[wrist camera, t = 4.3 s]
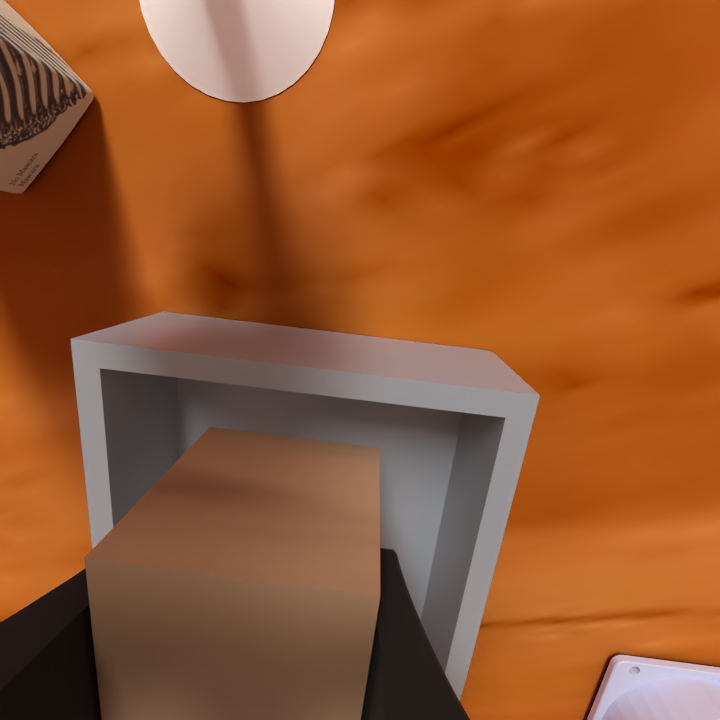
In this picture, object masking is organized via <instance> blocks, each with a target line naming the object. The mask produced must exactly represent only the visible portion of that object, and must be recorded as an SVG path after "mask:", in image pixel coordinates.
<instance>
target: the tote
mask: <svg viewBox="0 0 720 720" xmlns="http://www.w3.org/2000/svg"><path fill="white" fill-rule="evenodd" d="M70 340H71V350H72V359H73V369H74V378H75V388H76V397H77V407H78V416H79V426H80V435H81V445H82V454H83V464H84V473H85V483H86V492H87V502H88V511H89V521H90V530H91V540H92V549H93V548H94V547H95V546H96V545H97V544H98V543H99V542H100V541H101V540H102V539H103V538H104V537H105V536H106V535H107V534H108V533H109V532H110V531H111V530H112V529H113V527H114V526H115V525H116V524H117V523H118V522H119V521H120V520H121V519H122V518H123V517H124V516H125V515H126V514H127V513H128V512H129V511H130V510H131V509H132V508H133V507H134V506H135V504H136V503H137V502H138V501H139V500H140V499H141V498H142V497H143V496H144V495H145V494H146V493H147V492H148V491H149V490H150V489H151V488H152V487H153V486H154V485H155V484H156V483H157V482H158V480H159V479H160V478H161V477H162V476H163V475H164V474H165V473H166V472H167V471H168V470H169V469H170V468H171V467H172V466H173V465H174V464H175V463H176V462H177V461H178V460H179V459H180V457H181V456H182V455H183V454H184V453H185V452H186V451H187V450H188V449H189V448H190V447H191V446H192V445H193V444H194V443H195V442H196V441H197V440H198V439H199V438H200V437H201V436H202V434H203V433H204V432H205V431H206V430H207V429H208V428H209V427H214V428H222V429H231V430H239V431H247V432H255V433H263V434H271V435H279V436H288V437H296V438H304V439H312V440H320V441H328V442H336V443H345V444H353V445H361V446H369V447H377V448H380V548H385V549H393V550H394V551H395V552H396V553H397V556H398V560H399V564H400V567H401V571H402V574H403V577H404V580H405V583H406V586H407V588H408V591H409V594H410V597H411V599H412V602H413V604H414V607H415V609H416V612H417V614H418V616H419V619H420V621H421V623H422V626H423V628H424V630H425V633H426V635H427V637H428V639H429V642H430V644H431V646H432V648H433V650H434V652H435V654H436V656H437V659H438V661H439V663H440V665H441V667H442V669H443V671H444V673H445V675H446V677H447V679H448V681H449V683H450V684H451V686H452V688H453V690H454V692H455V694H456V696H457V698H458V699H459V701H460V700H461V696H462V692H463V689H464V685H465V681H466V677H467V673H468V669H469V666H470V662H471V658H472V654H473V650H474V646H475V643H476V639H477V635H478V631H479V627H480V623H481V620H482V616H483V612H484V608H485V604H486V600H487V597H488V593H489V589H490V585H491V581H492V577H493V574H494V570H495V566H496V562H497V558H498V554H499V551H500V547H501V543H502V539H503V535H504V531H505V528H506V524H507V520H508V516H509V512H510V508H511V505H512V501H513V497H514V493H515V489H516V485H517V482H518V478H519V474H520V470H521V466H522V462H523V459H524V455H525V451H526V447H527V443H528V439H529V436H530V432H531V428H532V424H533V420H534V416H535V412H536V409H537V405H538V401H539V397H540V395H539V394H538V393H537V392H536V391H535V390H533V389H532V388H531V387H530V386H529V385H528V384H527V383H526V382H525V381H524V380H523V379H521V378H520V377H519V376H518V375H517V374H516V373H515V372H514V371H513V370H512V369H511V368H509V367H508V366H507V365H506V364H505V363H504V362H503V361H502V360H501V359H500V358H499V357H497V356H496V355H495V354H494V353H493V352H492V351H490V350H482V349H474V348H465V347H457V346H448V345H440V344H432V343H423V342H415V341H406V340H398V339H390V338H381V337H373V336H364V335H356V334H348V333H339V332H331V331H322V330H314V329H306V328H297V327H289V326H280V325H272V324H264V323H255V322H247V321H238V320H230V319H222V318H213V317H205V316H196V315H188V314H180V313H171V312H160V313H157V314H153V315H150V316H146V317H143V318H140V319H136V320H133V321H129V322H126V323H122V324H119V325H116V326H112V327H109V328H105V329H102V330H99V331H95V332H92V333H88V334H85V335H82V336H78V337H75V338H71V339H70Z"/></svg>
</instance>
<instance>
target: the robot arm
mask: <svg viewBox="0 0 720 720" xmlns="http://www.w3.org/2000/svg"><path fill="white" fill-rule="evenodd" d="M0 720H102V718H101V709H100V699H99V690H98V680H97V671H96V662H95V652H94V643H93V633H92V624H91V615H90V605H89V596H88V587H87V577H86V568H85V569H84V570H82V571H81V572H79V573H78V574H77V575H75V576H74V577H72V578H71V579H69V580H67V581H66V582H64V583H63V584H61V585H60V586H58V587H56V588H55V589H53V590H52V591H50V592H49V593H47V594H45V595H44V596H42V597H41V598H39V599H38V600H36V601H34V602H33V603H31V604H30V605H28V606H27V607H25V608H23V609H22V610H20V611H19V612H17V613H15V614H14V615H12V616H10V617H9V618H7V619H5V620H4V621H2V622H0ZM361 720H470V719H469V717H468V715H467V714H466V712H465V710H464V708H463V707H462V705H461V703H460V701H459V699H458V698H457V696H456V694H455V692H454V690H453V688H452V686H451V684H450V683H449V681H448V679H447V677H446V675H445V673H444V671H443V669H442V667H441V665H440V663H439V661H438V659H437V656H436V654H435V652H434V650H433V648H432V646H431V644H430V642H429V639H428V637H427V635H426V633H425V630H424V628H423V626H422V623H421V621H420V619H419V616H418V614H417V612H416V609H415V607H414V604H413V602H412V599H411V597H410V594H409V591H408V588H407V586H406V583H405V580H404V577H403V574H402V571H401V567H400V564H399V560H398V556H397V553H396V552H395V551H394V550H393V549H385V548H380V602H379V608H378V614H377V620H376V627H375V633H374V639H373V646H372V652H371V658H370V664H369V671H368V677H367V683H366V689H365V696H364V702H363V708H362V715H361ZM587 720H720V667H713V666H705V665H698V664H690V663H682V662H675V661H667V660H659V659H652V658H644V657H637V656H629V655H616V656H614V657H613V658H612V659H611V661H610V663H609V666H608V668H607V671H606V673H605V676H604V678H603V681H602V683H601V686H600V688H599V691H598V693H597V696H596V698H595V701H594V703H593V706H592V708H591V711H590V713H589V716H588V718H587Z"/></svg>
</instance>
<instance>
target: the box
mask: <svg viewBox="0 0 720 720" xmlns="http://www.w3.org/2000/svg"><path fill="white" fill-rule="evenodd" d="M93 98H94V94H93V92H92V91H91V89H90V88H89V87H88V86H87V85H86V84H85V83H84V82H83V81H82V80H81V79H80V78H79V76H78V75H77V74H76V73H75V72H74V71H73V70H72V69H71V68H70V67H69V65H68V64H67V63H66V62H65V61H64V60H63V59H62V58H61V57H60V56H59V55H58V54H57V53H56V52H55V51H54V50H53V48H52V47H51V46H50V45H49V44H48V43H47V42H46V41H45V40H44V39H43V38H42V37H41V36H40V35H39V34H38V33H37V32H36V31H35V30H34V29H33V28H32V27H31V26H30V25H29V24H28V23H27V22H26V21H25V20H24V19H23V18H22V17H21V16H20V15H19V14H18V13H17V12H16V11H15V10H14V9H13V8H12V7H10V6H9V5H8V4H7V3H6V2H5V1H4V0H0V191H4V192H10V193H15V194H21V193H22V192H24V191H25V190H26V188H27V187H28V186H29V185H30V184H31V182H32V181H33V180H34V179H35V177H36V176H37V175H38V174H39V173H40V171H41V170H42V169H43V168H44V166H45V165H46V164H47V163H48V161H49V160H50V159H51V157H52V156H53V155H54V153H55V152H56V151H57V150H58V148H59V147H60V146H61V144H62V143H63V142H64V140H65V139H66V138H67V136H68V135H69V134H70V132H71V131H72V129H73V128H74V126H75V125H76V123H77V122H78V121H79V119H80V118H81V116H82V115H83V113H84V112H85V111H86V109H87V108H88V106H89V105H90V103H91V102H92V100H93Z"/></svg>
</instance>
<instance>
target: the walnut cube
mask: <svg viewBox="0 0 720 720" xmlns="http://www.w3.org/2000/svg"><path fill="white" fill-rule="evenodd" d="M85 568H86V577H87V587H88V596H89V605H90V615H91V624H92V633H93V643H94V652H95V662H96V671H97V680H98V690H99V699H100V709H101V718H102V720H361V715H362V708H363V702H364V696H365V689H366V683H367V677H368V671H369V664H370V658H371V652H372V646H373V639H374V633H375V627H376V620H377V614H378V608H379V602H380V448H377V447H369V446H361V445H353V444H345V443H336V442H328V441H320V440H312V439H304V438H296V437H288V436H279V435H271V434H263V433H255V432H247V431H239V430H231V429H222V428H214V427H209V428H208V429H207V430H206V431H205V432H204V433H203V434H202V436H201V437H200V438H199V439H198V440H197V441H196V442H195V443H194V444H193V445H192V446H191V447H190V448H189V449H188V450H187V451H186V452H185V453H184V454H183V455H182V456H181V457H180V459H179V460H178V461H177V462H176V463H175V464H174V465H173V466H172V467H171V468H170V469H169V470H168V471H167V472H166V473H165V474H164V475H163V476H162V477H161V478H160V479H159V480H158V482H157V483H156V484H155V485H154V486H153V487H152V488H151V489H150V490H149V491H148V492H147V493H146V494H145V495H144V496H143V497H142V498H141V499H140V500H139V501H138V502H137V503H136V504H135V506H134V507H133V508H132V509H131V510H130V511H129V512H128V513H127V514H126V515H125V516H124V517H123V518H122V519H121V520H120V521H119V522H118V523H117V524H116V525H115V526H114V527H113V529H112V530H111V531H110V532H109V533H108V534H107V535H106V536H105V537H104V538H103V539H102V540H101V541H100V542H99V543H98V544H97V545H96V546H95V547H94V548H93V549H92V550H91V551H90V553H89V554H88V555H87V556H86V557H85Z"/></svg>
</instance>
